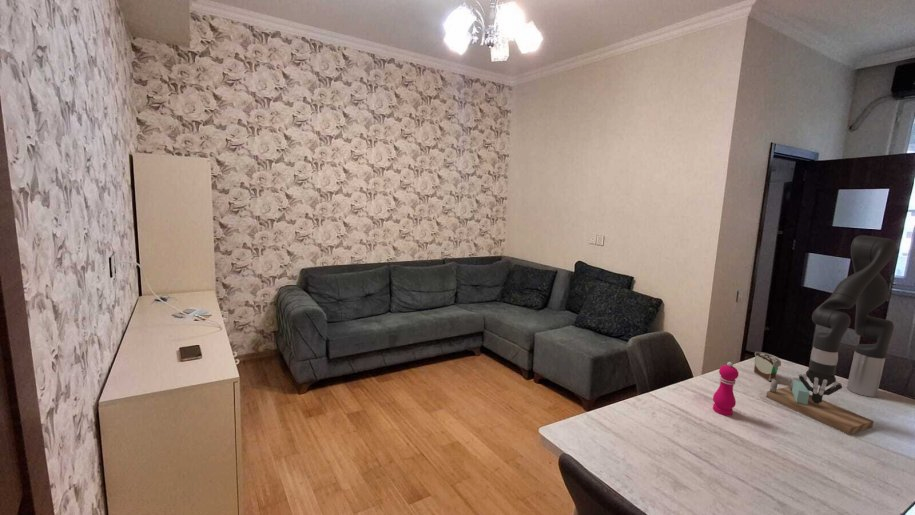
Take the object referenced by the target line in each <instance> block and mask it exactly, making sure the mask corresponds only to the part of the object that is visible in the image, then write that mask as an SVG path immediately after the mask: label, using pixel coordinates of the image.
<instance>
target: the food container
mask: <svg viewBox="0 0 915 515" xmlns="http://www.w3.org/2000/svg"><path fill="white" fill-rule="evenodd" d="M754 356H755V357H754V366H753V367H754V368H753V374H756V375H757V376H759V378H762V379H764V380H765V381H767V382H769V383H771V382H772V379H774V380H776V376H777V372H778V370H779V367H781V366H782V362H781V358H779V357H778V356H775V355H773V354H770V353H768V352H761V351H755V352H754Z"/></svg>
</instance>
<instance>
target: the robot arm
mask: <svg viewBox="0 0 915 515" xmlns="http://www.w3.org/2000/svg"><path fill="white" fill-rule="evenodd" d="M896 249H897V244H896V241H895V240H893V239H891V238H885V237H881V236H873V235H872V236H871V235H865V234H862V235H858V236H856V237H854V238H853V240H852V241H851V245H850V256H851V261H852V262H851V263H852V267H853V272H854V273H853V274H850V275H849V276H847V277H845V278H844V279H842V280H841V281H840V282H839V283H838V284H837V285H836V287H835V288H834V290H833V291H832V293H831V294H830V297H828V298H827V299H825V300H824V302H822V303H821V304H819V306H816V309H814V310H813V312H812V314H811V320H812V322H813V323H814V324H815V325H817V326H820V327H824V328H827V329H830V330H831V331H830V332H824V331H823V332H816V333H815V336H814V340H813V346H812V349H811V353H810V358H809V364H808V370H807V371H806V372H805V373H804V374H801V373H800V374H798V378H799V379H800V380H801V382H802V383H803V384H804V386H805V387H806V388H807V390H808V391H809V392H812V394H811V395H812V401H814V403H818V404H819V402H820V403H821V402H822V400H823V397H824V396H830V395H832V394H834V393H836V392H838V391H840V390H841V389H843V386H842V383H840V382H838V381H837V380H836V379H837V378H836V373H837V372H836V371H837V365H838V363H839V361H838V360H839V349H840V344H841V341H842V339H843V337H844V335H845V333H846V332H847V330H848V329H849V327H850V326H851V322H852V321H851V317H850V315H849V314H848V313H846V312H844V311H840V309H841V310H842V309H843V310H847V309H848V310H849V309H852V308H853V307H854V306H855V320H854V331H855V334H856V335H857V336H860V337H863V338H866V339H869V340H870V339H871V340H875V341H876V342H875V343H859V344H856V345H855V348H854V353H853V357H852V358H853V359H852V363H851V366H850V370H849V376H848V380H847V384H846V389H847V390H849V391H850V392H852V393H854V394H856V395H857V394H858V395H861V396H865V397H873V398H876V397H877V396H878V391H879V387H880V385H881V384H880V383H881V380H882V375H883V370H884V365H885V362H886V357H887V353H888V348H889V346H890V342H891V339H892V336H893V332H894V328H895V325H894V323H893V321H891V320H889V319H884V318H879V317H874V316H870V315H869V314H870V313H871V312H872V311H874V310H875V309H877V308H878V307H880V306H881V305H883V304H884V303H885V302H886V301H887V299H888V298H889V295H888V294H889V292H888V291H889V290H888V289H889V285H888V283H887V280H886V279H885V277H883V276H882V274H881V273H880V272H881V271H882V270H883V269H884V268H885V267H886V266H887V264H888V263H889V262H890V261H891V259H893V256H894V255H895V252H896ZM807 380H809V381H810V383H811V384H812V386H811V385H810V384H809V382H808V381H807ZM831 385H832V386H831ZM829 386H830V387H829ZM827 387H829V388H827ZM826 388H827V389H826Z"/></svg>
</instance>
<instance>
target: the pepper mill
mask: <svg viewBox="0 0 915 515" xmlns="http://www.w3.org/2000/svg"><path fill="white" fill-rule="evenodd" d="M733 365H734V363H733V362H731V361H728V362H727V363H726V364H723V365H721V366H720V368H719V371H718V373H719V375H720V376H719V386H718V388H717V389H716V391H715V392H714V393H713V396H712V400H713V404H712V409H713V411H714V412H715V413H718V414H719V415H722V416H729V417H730V416H731V415H733V413H734V410H733V408H735V406H736V396H735V394H734V385H735V384H736V380H737V379H738V377H739V371H738V369H737V368H736V367H735V366H733Z"/></svg>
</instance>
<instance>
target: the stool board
mask: <svg viewBox="0 0 915 515" xmlns="http://www.w3.org/2000/svg"><path fill="white" fill-rule="evenodd" d="M778 385H779V381H778V380H776V379H775V380H774V379H772V382H770V388H769V390H768V391H766V396H765V397H766V398H767V399H769V400H771V401H774V402H775V403H776V402H777V403H779V404H780V405H783V407H787V408H789V409H791V410H793V411H796V413H797V412H798V413H800V414H802V415H804V416H806V417H809V418H811V419H813V420H815V421H817V422H820V423H821V424H823V425H824V424H825V425H826V426H827V427H828V426H829V427H830V428H832V427H833V429H834V428H835V430H837V431H839V430H840V431H839V432H841V433H843V432H844V433H843V434H845V433H846V435H848V436H849V435H853V434H856V433H858V432H861V431H865V430H869V429H871V428H873V425H874V422H875V421H874V420H872V419H869V418H867V417H865V416H863V415H861V414H858V413H856V412H853V411H850V410H848V409H846V408H843V407H840V406H839V405H836V404H833V403H831V402H828V401H827V400H823V399H822V402H821V403H820V402H819V404H818V403H814V401H812V394H811V393H809V398H808V403H807V405H806V404H802V403H797V402H796V400H795V397H794V395H793V393H792V391H791V390H790V388H791V385H790V386H789V385H788V386H784V387H780V388H778Z"/></svg>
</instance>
